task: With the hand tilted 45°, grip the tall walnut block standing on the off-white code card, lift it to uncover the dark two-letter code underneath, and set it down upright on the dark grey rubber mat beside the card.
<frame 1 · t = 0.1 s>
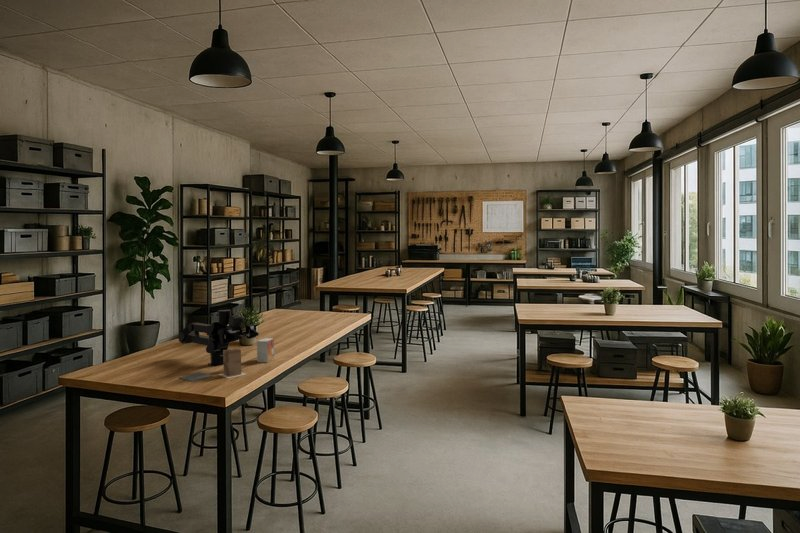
hand: (250, 335, 235), 17 cm above the table, tool horizontal, fingers open, 9 cm apart
code card: (232, 374, 232), on the table
walnut block: (232, 374, 232), resting on code card
rubber mat: (196, 377, 227), on the table
small box: (266, 361, 258), on the table
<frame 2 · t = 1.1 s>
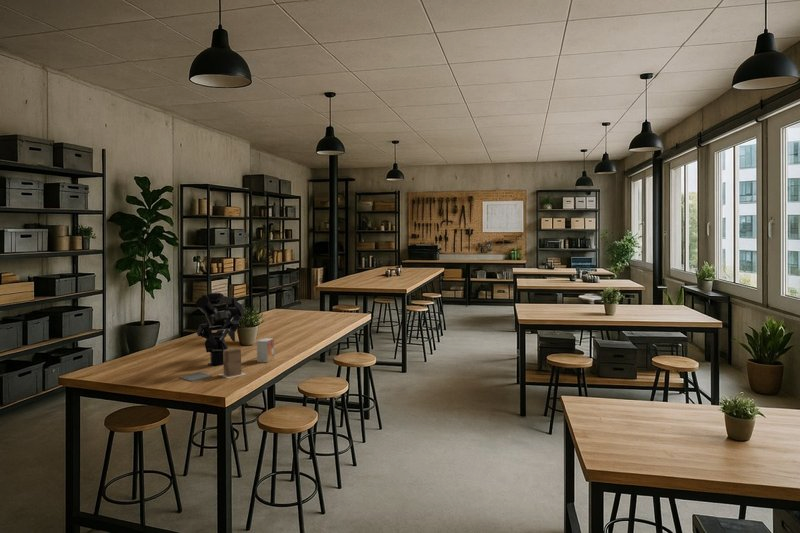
hand: (225, 342, 236), 14 cm above the table, tool tilted 45°, fingers open, 9 cm apart
nothing on the table moved.
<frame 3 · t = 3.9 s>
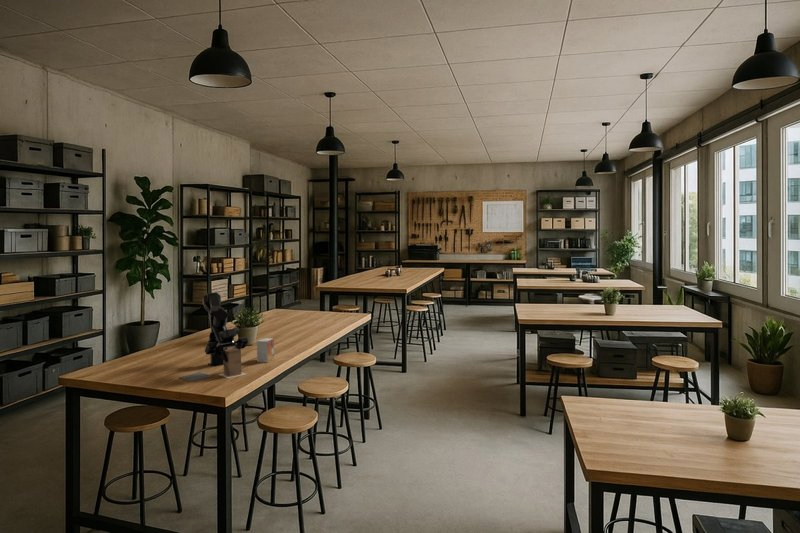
hand: (233, 360, 230), 7 cm above the table, tool tilted 45°, fingers closed on walnut block, 6 cm apart
walnut block: (232, 374, 232), resting on code card, touching gripper
everything else where it was.
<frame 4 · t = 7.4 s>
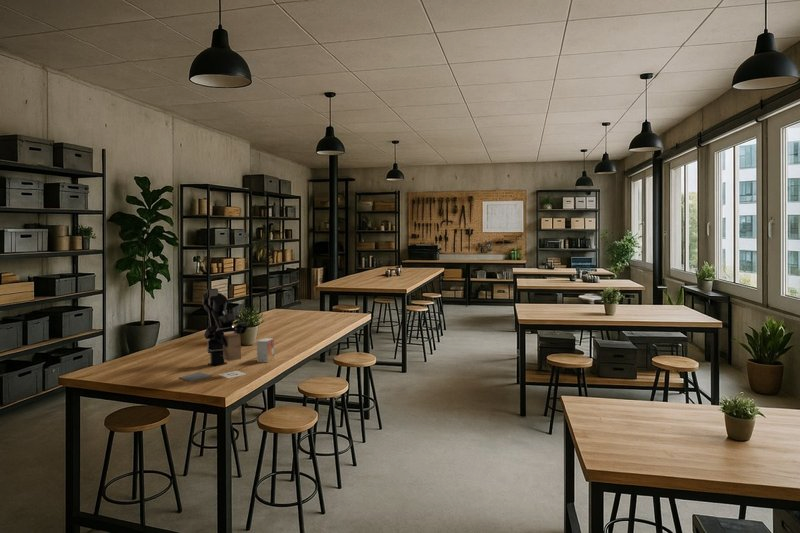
hand: (233, 345, 230), 13 cm above the table, tool tilted 45°, fingers closed on walnut block, 6 cm apart
walnut block: (232, 358, 231), point 7 cm above the table, touching gripper
everything else where it was.
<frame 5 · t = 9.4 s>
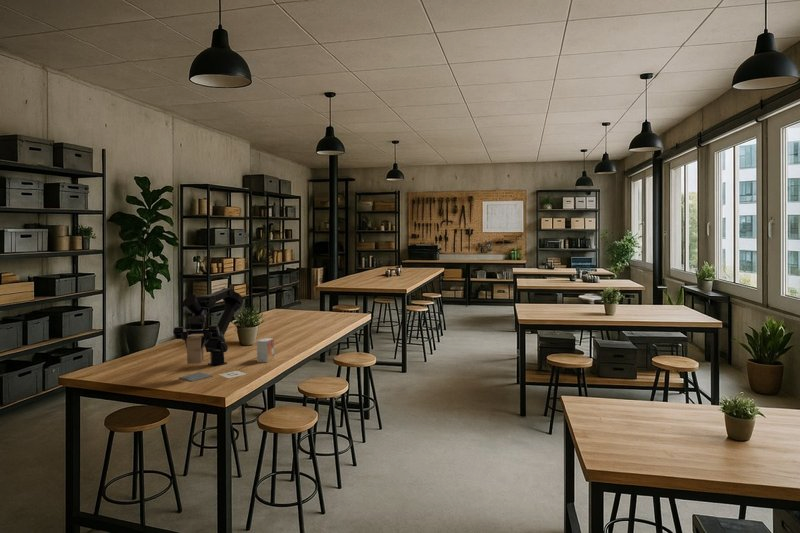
hand: (194, 348, 225), 13 cm above the table, tool tilted 45°, fingers closed on walnut block, 6 cm apart
walnut block: (195, 362, 227), point 7 cm above the table, touching gripper
everything else where it was.
when the fingers open (8 cm above the table, at t = 10.8 s): walnut block drops 2 cm, resting on rubber mat.
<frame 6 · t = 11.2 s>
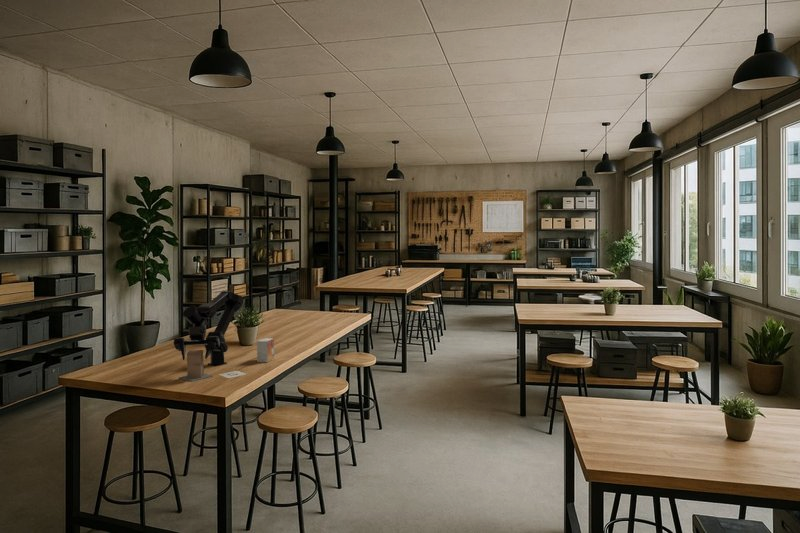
hand: (194, 359, 225), 9 cm above the table, tool tilted 45°, fingers open, 9 cm apart
walnut block: (195, 376, 227), point 1 cm above the table, touching rubber mat
everything else where it was.
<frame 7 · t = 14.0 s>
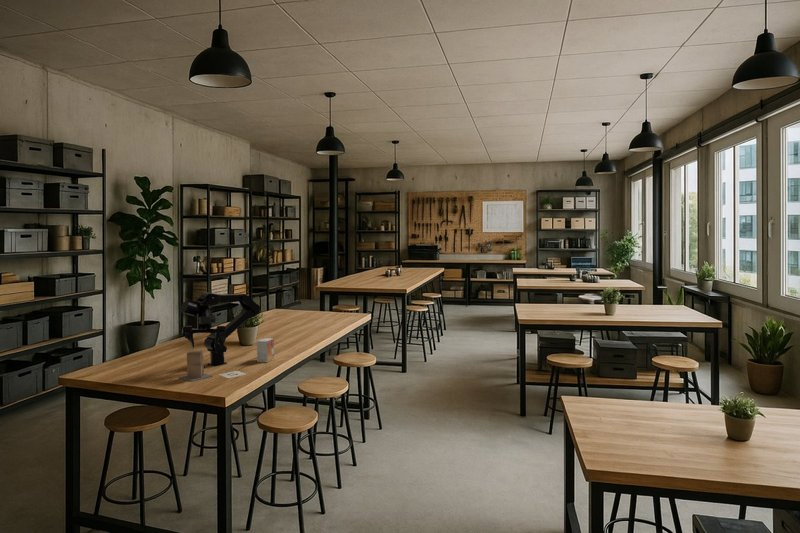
hand: (204, 347, 235), 12 cm above the table, tool tilted 40°, fingers open, 9 cm apart
nothing on the table moved.
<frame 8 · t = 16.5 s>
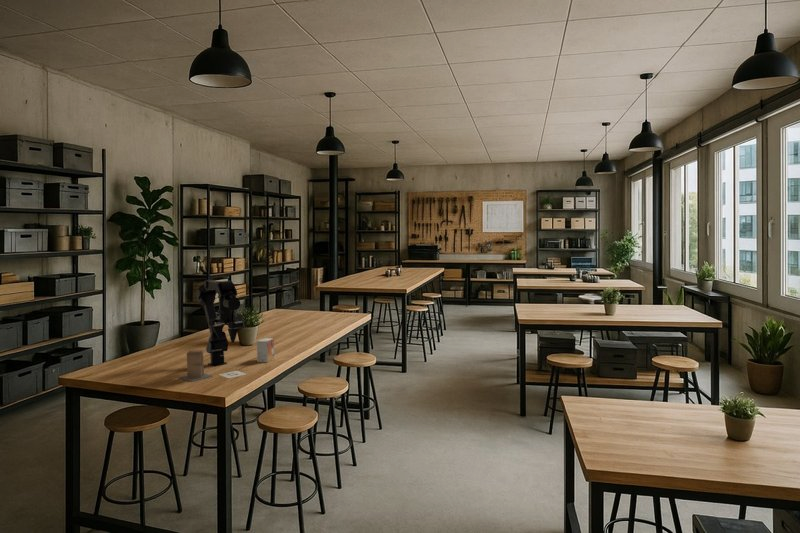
hand: (226, 341, 241), 13 cm above the table, tool pointing down, fingers open, 9 cm apart
nothing on the table moved.
at the end: walnut block inside the target area (0.1 cm from its centre), point 0.6 cm above the table; walnut block tilted 0°; the gripper is holding nothing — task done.
